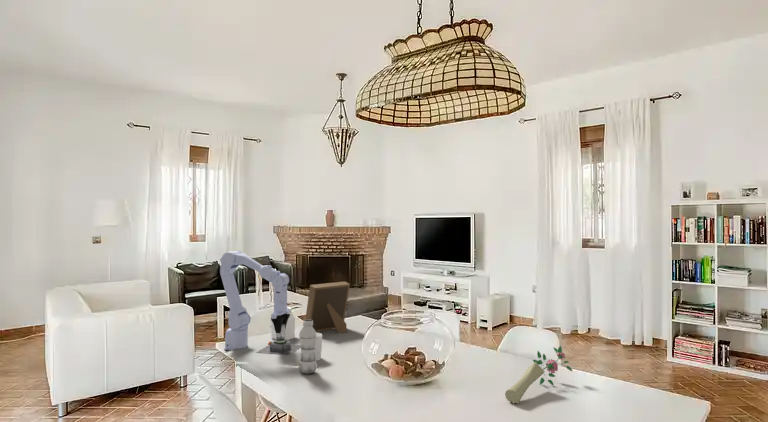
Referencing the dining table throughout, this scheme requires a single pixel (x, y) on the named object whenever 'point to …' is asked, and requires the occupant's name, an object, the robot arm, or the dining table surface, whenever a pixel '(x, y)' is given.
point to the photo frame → (328, 306)
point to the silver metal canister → (281, 335)
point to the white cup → (318, 346)
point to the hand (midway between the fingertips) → (280, 331)
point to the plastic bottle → (307, 348)
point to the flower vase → (534, 376)
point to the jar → (289, 326)
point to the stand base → (280, 348)
